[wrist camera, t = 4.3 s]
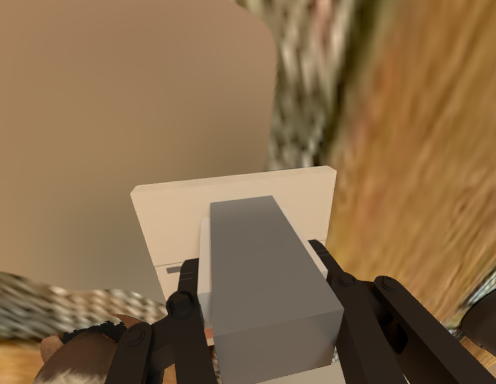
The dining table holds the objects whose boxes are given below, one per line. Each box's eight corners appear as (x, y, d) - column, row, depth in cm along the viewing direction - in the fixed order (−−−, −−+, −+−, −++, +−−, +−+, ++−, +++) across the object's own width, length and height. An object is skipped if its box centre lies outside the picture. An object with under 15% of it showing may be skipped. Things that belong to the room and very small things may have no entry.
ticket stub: (319, 230, 21) (422, 355, 11) (157, 254, 19) (99, 439, 9) (327, 165, 18) (480, 256, 8) (136, 185, 16) (9, 346, 6)
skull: (182, 366, 26) (99, 488, 19) (137, 326, 31) (59, 409, 24) (144, 310, 20) (1, 456, 13) (96, 273, 26) (-22, 361, 18)
